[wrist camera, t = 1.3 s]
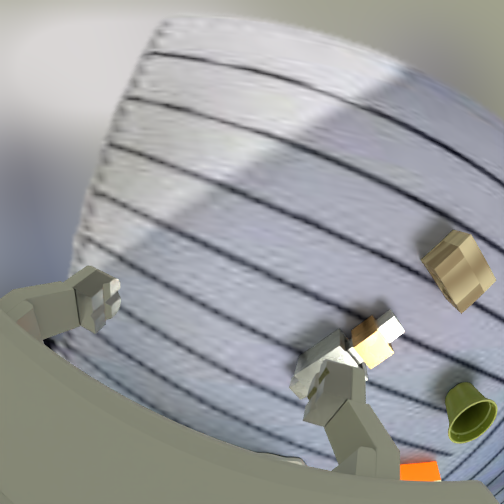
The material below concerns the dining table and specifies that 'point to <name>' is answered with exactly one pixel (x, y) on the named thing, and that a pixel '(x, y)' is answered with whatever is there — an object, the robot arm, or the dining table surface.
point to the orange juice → (420, 472)
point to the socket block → (459, 269)
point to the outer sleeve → (324, 357)
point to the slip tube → (365, 344)
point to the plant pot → (468, 413)
